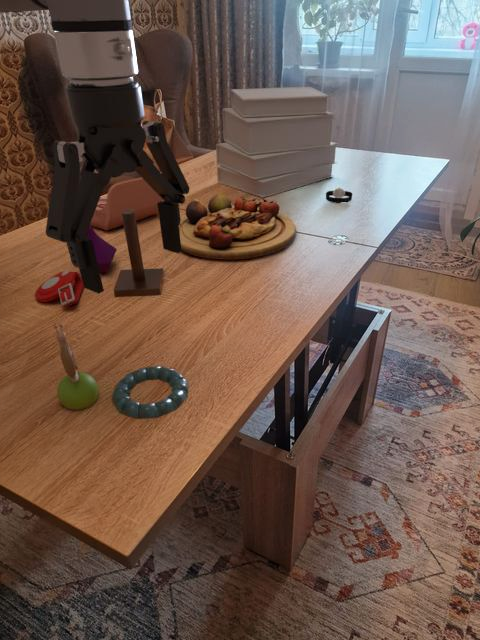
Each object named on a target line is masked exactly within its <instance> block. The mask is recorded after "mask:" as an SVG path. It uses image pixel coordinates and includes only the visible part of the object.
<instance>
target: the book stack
mask: <svg viewBox="0 0 480 640" xmlns="http://www.w3.org/2000/svg"><path fill="white" fill-rule="evenodd" d="M330 97H331V96H330V95H328V94H326V93H324V92H322V91H320V90H318V89H316V88H314V87H312V86H290V87H287V86H286V87H261V88H260V87H259V88H258V87H257V88H231V89H230V105H231V106H230V107H225V108H222V109H221V112H222V114H221V115H222V133H223V135H222V136H223V141H224V142H220V143H216V144H215V152H216V153H215V155H216V164H217V165H218V166H217V167H216V176H217V182H218V184H222V185H224V186H227V187H230V188H233V189H236V190H238V191H241V192H245V193H247V194H251V195H254V196H256V197H259V198H262V199H265V198H267V197H271V196H274V195H277V194H280V193H284V192H287V191H290V190H293V189H297V188H300V187H303V186H307V185H310V184H314V183H317V181H318V182H321V181H324V180H327V179H326V178H328V179H330V178H329V177H331V176H332V174H333V165H335V164H338V161H335V160H336V149H337V148H336V147H337V146H339V143H338V142H335V141H332V131H333V130H332V129H333V117H334V116H336V113H334V112H331V111H328V110H327V107H328V106H327V104H328V98H330ZM331 178H332V177H331ZM323 179H324V180H323ZM320 180H321V181H320Z"/></svg>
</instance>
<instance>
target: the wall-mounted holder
mask: <svg viewBox="0 0 480 640" xmlns="http://www.w3.org/2000/svg"><path fill="white" fill-rule="evenodd" d="M160 201H163V202H164V200H163V199H162V198H161V197H160V196H159V195H158V194H157V193H156V192H155V191H154V190H153V189H152V188H151V187H150V186H149V184H148V183H147V182H146V181H145V180H144V179H143V178H142V177H141V176H140V177H136V178H132V179H129V180H124V181H119V182H116V183H114V184H112V185H111V186H110V187H109V188H108V190H107V194H106V197H100V199H99V202H98V204H97V207H96V210H95V212H94V215H93V218H92V220H91V223H90V225H91V227H93V228H94V227H95V228H98V229H101V230H104V231H110V230H113V229H116V228H118V227H122V226H124V224H123V218H122V211H125V210H134V211H135V217H136V221H139V220H142V219H145V218H147V217H150V216H153V215H157V214H159V212H158V205H157V203H158V202H160Z"/></svg>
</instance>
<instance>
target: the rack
mask: <svg viewBox="0 0 480 640" xmlns="http://www.w3.org/2000/svg"><path fill="white" fill-rule="evenodd" d="M122 218H123V224H124V225H123V229H124V234H125V240H126V246H127V251H128V258H129V262H130V269H120V270H119V273H118V276H117V279H116V282H115V285H114V288H113V294H114V297H117V298H118V297H139V296H160V295H161V293H162V288H163V283H164V276H165V270H164V268H163V267H161V268H144V262H143V255H142V249H141V243H140V236H139V231H138V223H137V220H136V217H135V211H134V210H125V211H122Z"/></svg>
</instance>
